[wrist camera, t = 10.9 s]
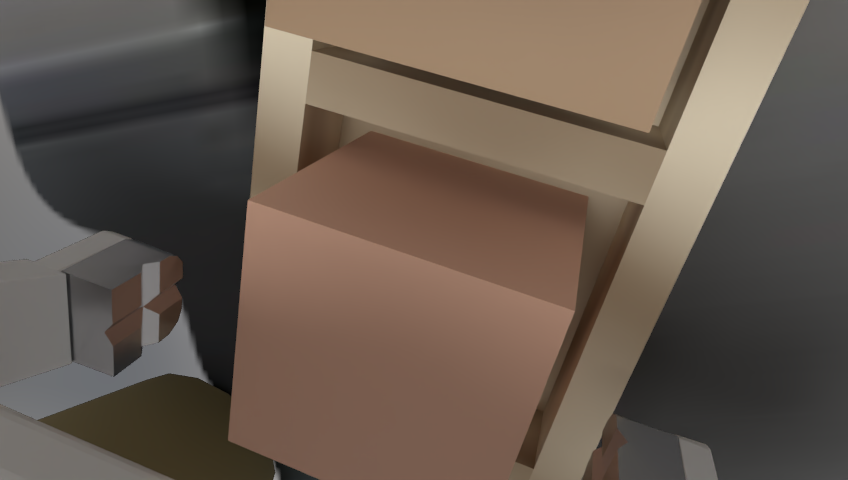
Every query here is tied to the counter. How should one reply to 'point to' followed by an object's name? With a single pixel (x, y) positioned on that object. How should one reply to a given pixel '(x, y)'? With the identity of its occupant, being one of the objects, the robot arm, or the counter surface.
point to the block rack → (543, 139)
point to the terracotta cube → (401, 313)
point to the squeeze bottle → (167, 429)
